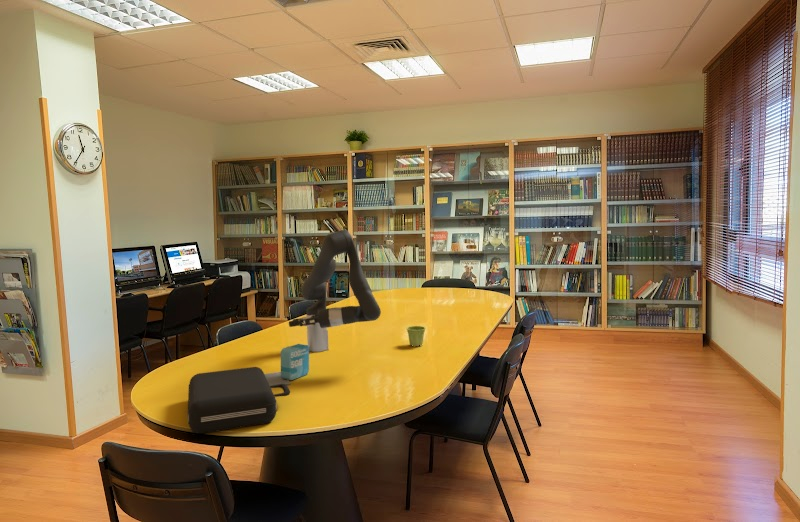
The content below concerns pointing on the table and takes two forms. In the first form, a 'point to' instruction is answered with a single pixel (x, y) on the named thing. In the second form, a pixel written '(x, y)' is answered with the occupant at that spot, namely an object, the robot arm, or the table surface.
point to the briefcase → (231, 400)
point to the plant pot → (416, 335)
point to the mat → (276, 379)
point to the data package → (294, 361)
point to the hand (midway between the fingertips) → (291, 323)
